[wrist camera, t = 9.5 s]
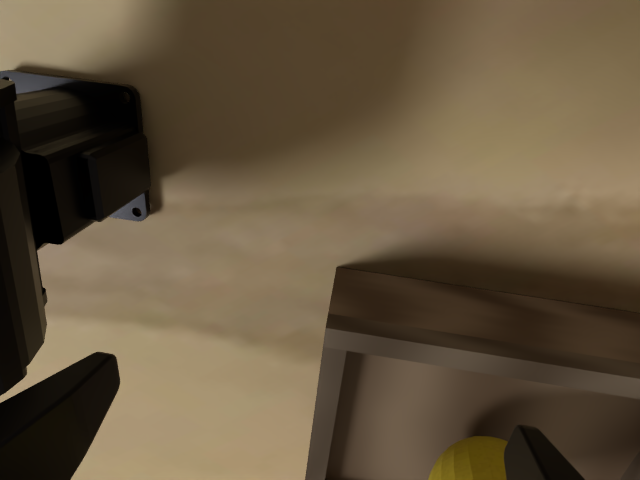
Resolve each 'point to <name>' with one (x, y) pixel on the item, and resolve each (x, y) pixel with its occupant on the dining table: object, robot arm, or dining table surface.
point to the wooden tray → (469, 378)
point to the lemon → (472, 460)
